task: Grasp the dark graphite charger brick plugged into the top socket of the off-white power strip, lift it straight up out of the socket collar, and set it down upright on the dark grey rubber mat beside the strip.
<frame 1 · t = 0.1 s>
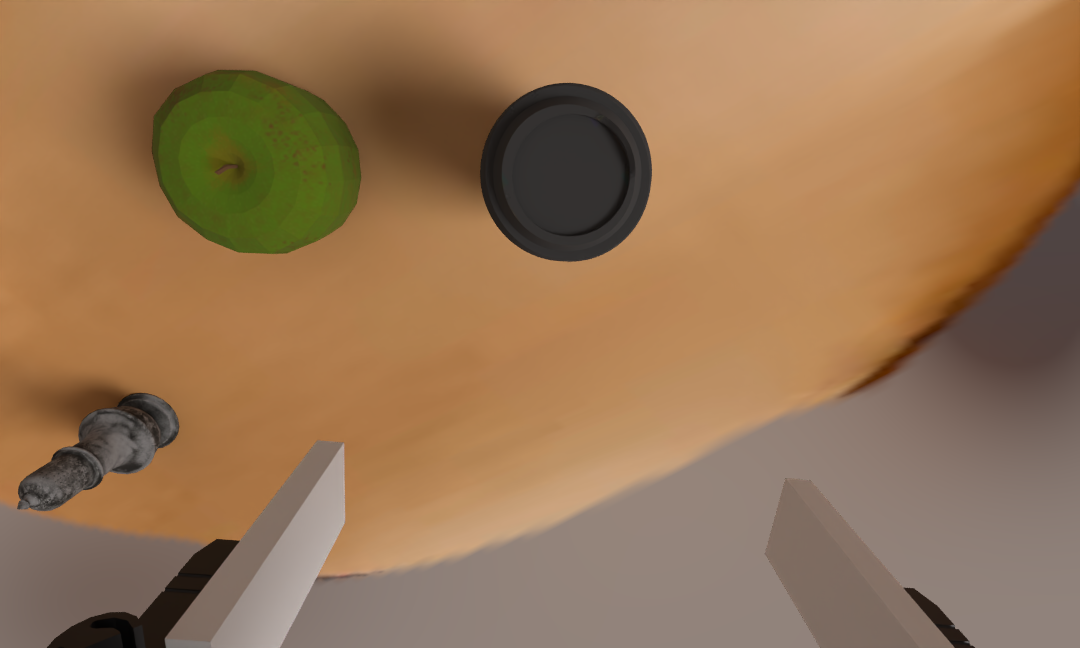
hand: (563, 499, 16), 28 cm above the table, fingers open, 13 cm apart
apple: (301, 165, 40), on the table
coffee cup: (556, 171, 40), on the table
grey chess piece: (149, 419, 46), on the table
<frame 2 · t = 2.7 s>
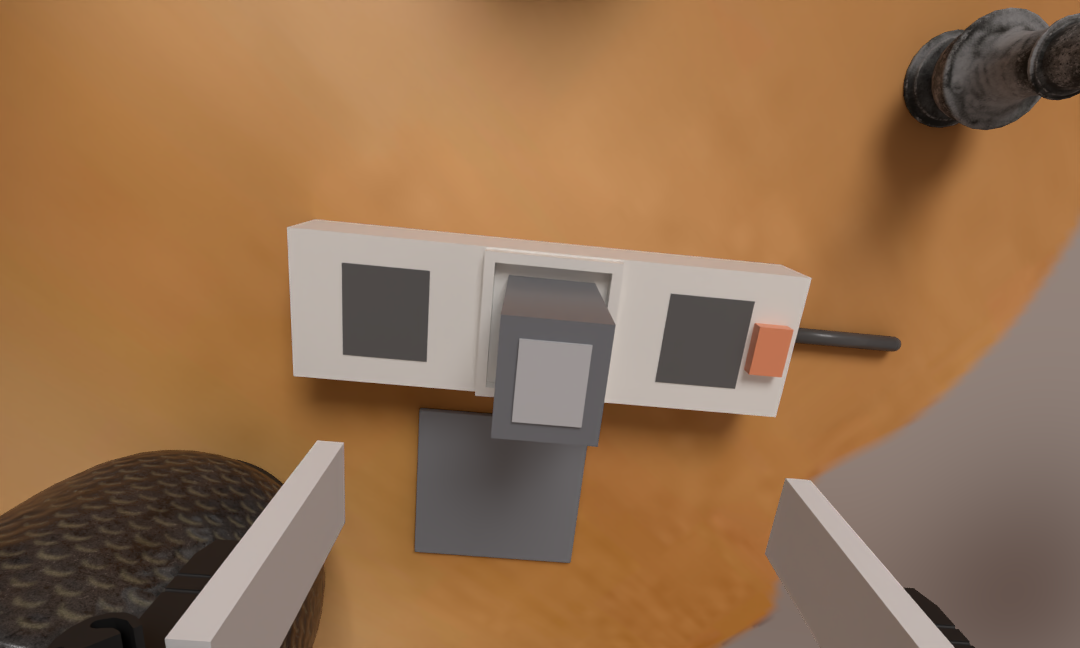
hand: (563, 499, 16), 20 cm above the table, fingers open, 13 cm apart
mat: (499, 487, 39), on the table
planter: (233, 516, 40), on the table
charger: (546, 328, 31), point 4 cm above the table, touching strip
strip: (545, 309, 35), on the table
grey chess piece: (946, 80, 32), on the table
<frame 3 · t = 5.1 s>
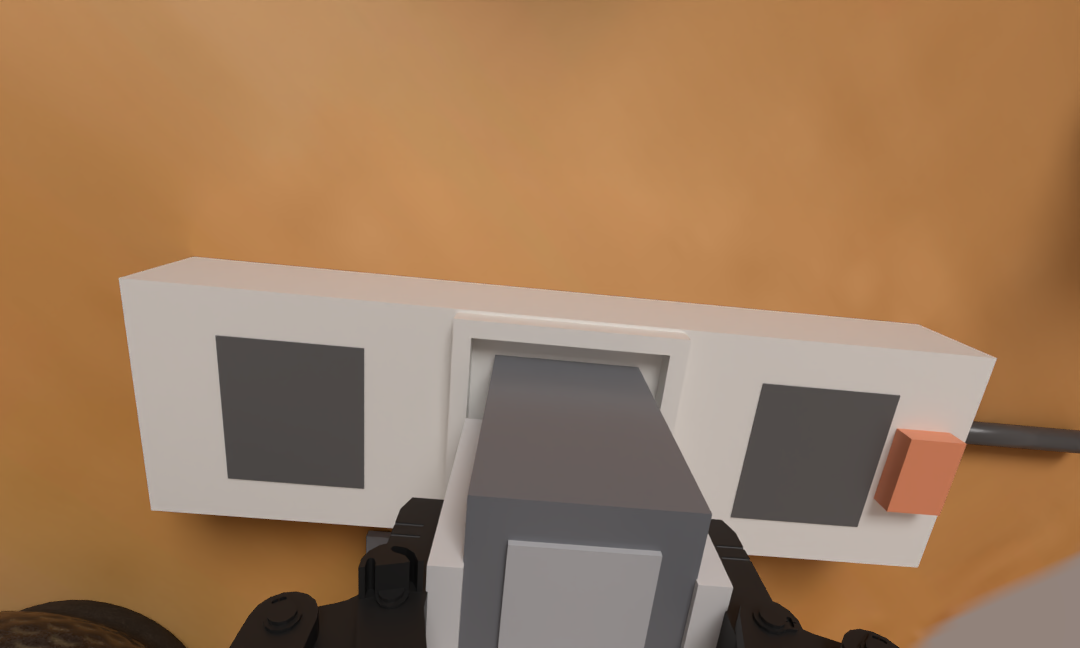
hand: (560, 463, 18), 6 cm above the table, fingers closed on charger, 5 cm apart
mat: (486, 636, 27), on the table
charger: (557, 437, 19), point 4 cm above the table, touching gripper, strip
strip: (554, 391, 23), on the table
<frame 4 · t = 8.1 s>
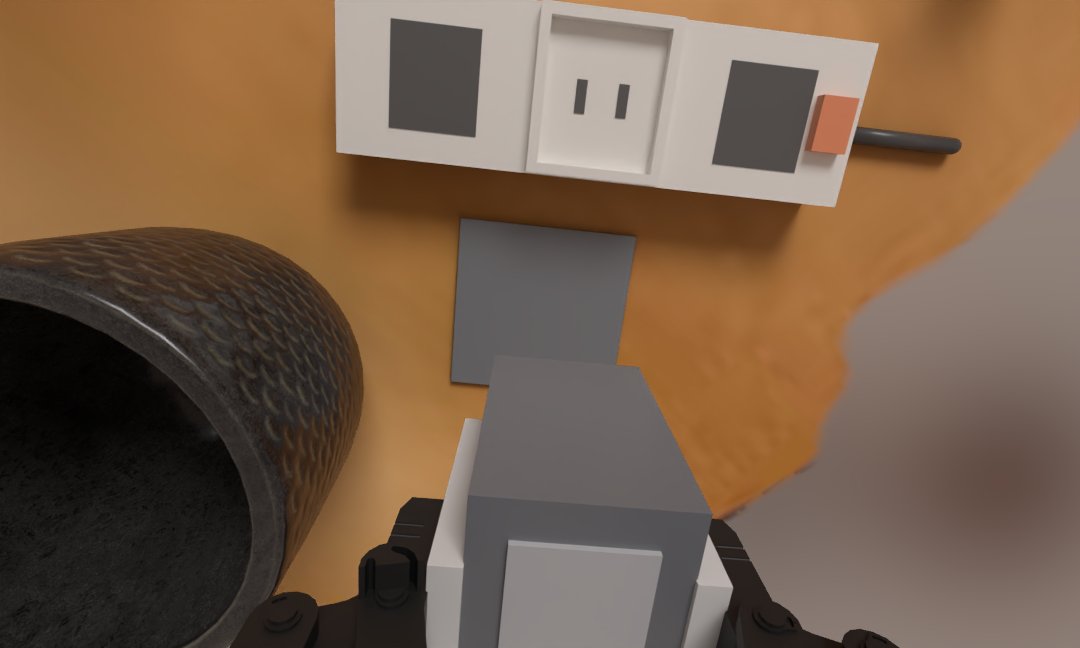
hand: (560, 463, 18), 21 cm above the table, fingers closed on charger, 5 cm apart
mat: (539, 310, 38), on the table
planter: (264, 342, 39), on the table
charger: (558, 437, 19), point 20 cm above the table, touching gripper
strip: (593, 105, 34), on the table
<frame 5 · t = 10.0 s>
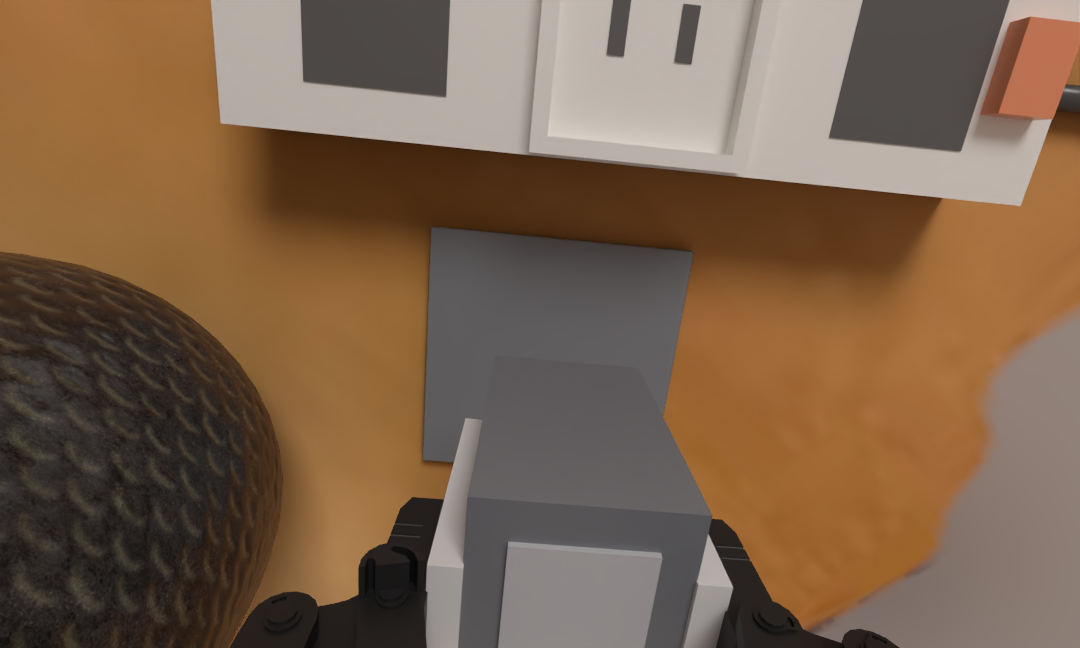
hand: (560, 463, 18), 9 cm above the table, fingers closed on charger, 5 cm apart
mat: (549, 359, 26), on the table
planter: (153, 406, 27), on the table
charger: (557, 438, 19), point 7 cm above the table, touching gripper
strip: (632, 52, 22), on the table
when the fingers open (4 cm above the table, at t = 11.5 s): charger drops 2 cm, resting on mat.
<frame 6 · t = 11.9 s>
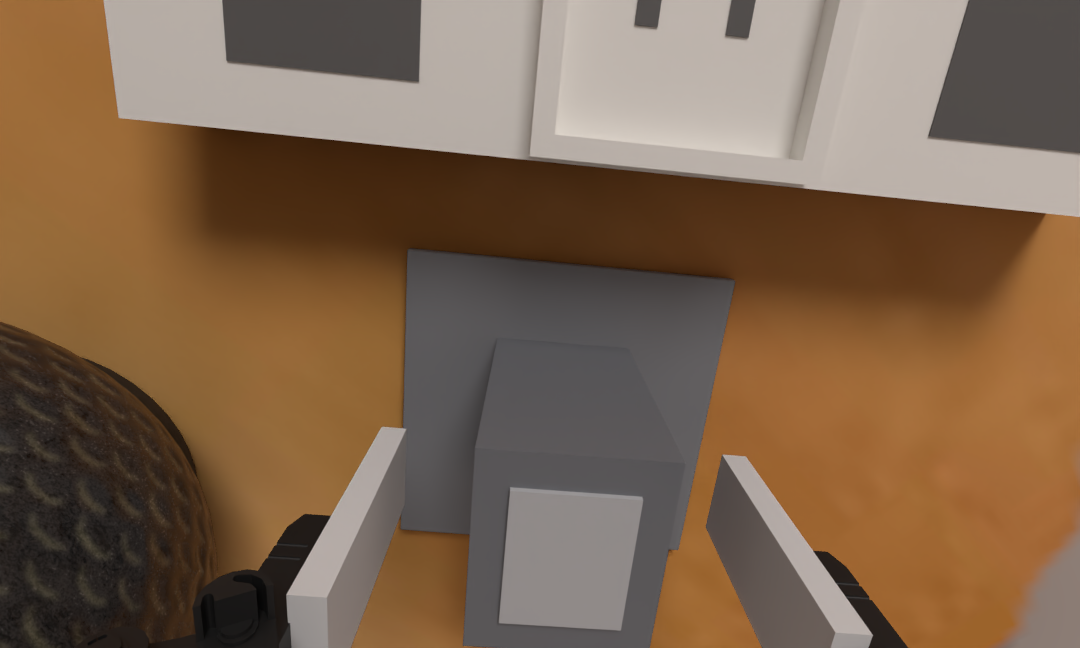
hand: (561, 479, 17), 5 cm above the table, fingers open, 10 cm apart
mat: (555, 409, 21), on the table
planter: (73, 465, 22), on the table
charger: (555, 414, 21), resting on mat
strip: (661, 28, 17), on the table
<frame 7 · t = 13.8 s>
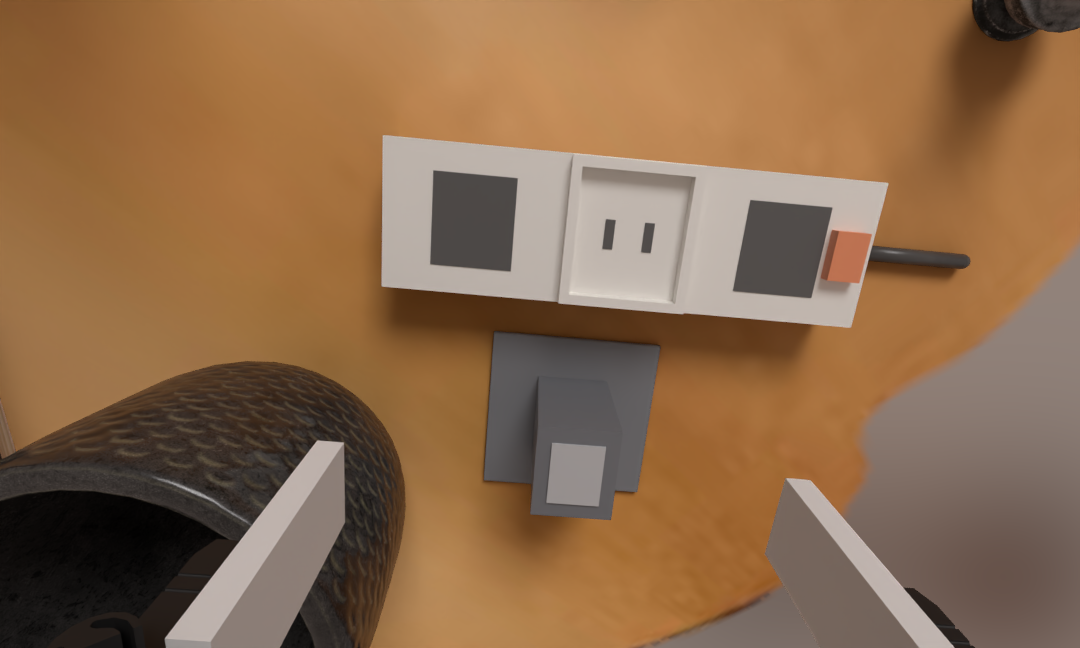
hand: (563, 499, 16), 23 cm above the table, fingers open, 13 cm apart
mat: (568, 413, 40), on the table
planter: (307, 444, 41), on the table
charger: (568, 415, 40), resting on mat
strip: (619, 229, 36), on the table
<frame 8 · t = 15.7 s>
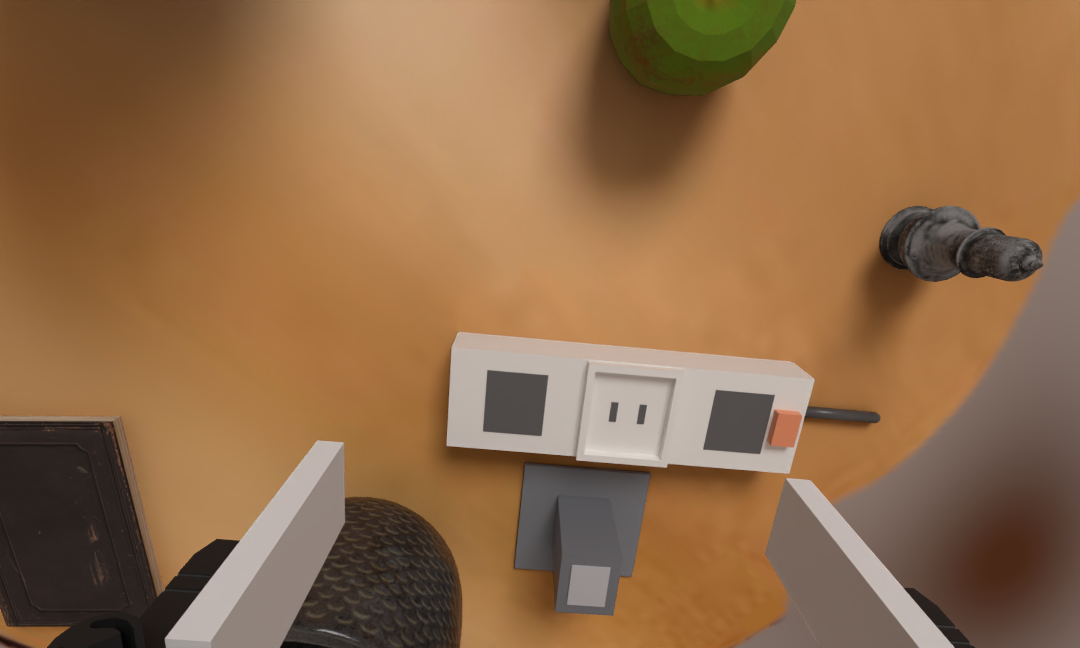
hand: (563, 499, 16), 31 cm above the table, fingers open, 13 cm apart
mat: (580, 520, 52), on the table
planter: (378, 541, 53), on the table
hardcover book: (74, 514, 52), on the table
charger: (580, 522, 52), resting on mat
apple: (674, 24, 40), on the table
strip: (620, 393, 48), on the table
grey chess piece: (909, 237, 45), on the table
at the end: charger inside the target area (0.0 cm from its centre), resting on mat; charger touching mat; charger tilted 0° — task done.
